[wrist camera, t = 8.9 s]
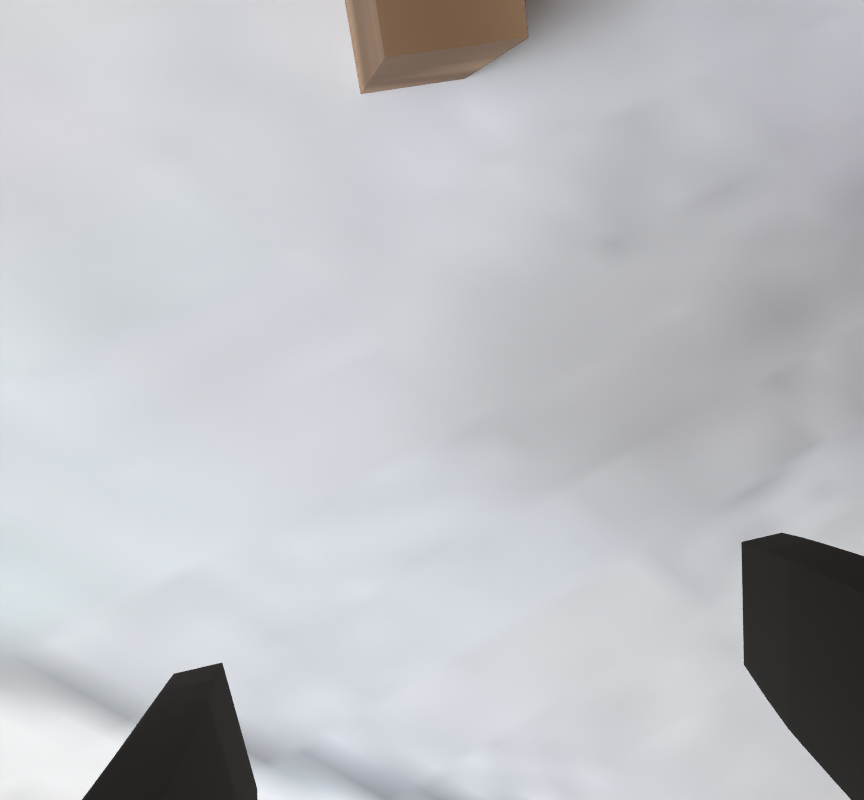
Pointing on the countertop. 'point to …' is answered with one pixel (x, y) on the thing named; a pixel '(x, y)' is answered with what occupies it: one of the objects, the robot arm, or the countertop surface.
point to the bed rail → (429, 39)
